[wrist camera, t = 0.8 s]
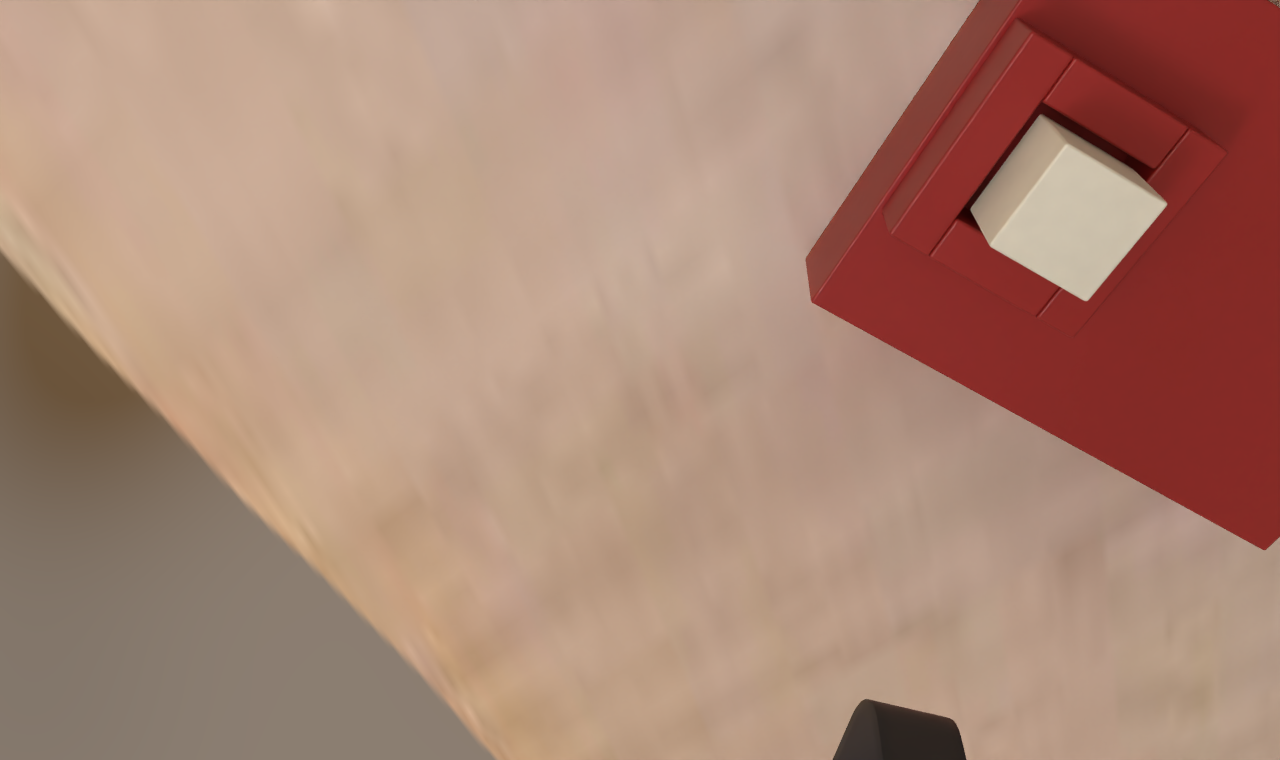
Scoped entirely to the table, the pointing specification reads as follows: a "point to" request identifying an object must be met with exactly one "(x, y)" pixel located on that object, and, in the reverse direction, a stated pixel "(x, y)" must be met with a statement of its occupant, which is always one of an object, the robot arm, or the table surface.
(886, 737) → the robot arm
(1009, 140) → the red push button box
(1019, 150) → the white cube
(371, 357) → the table surface
